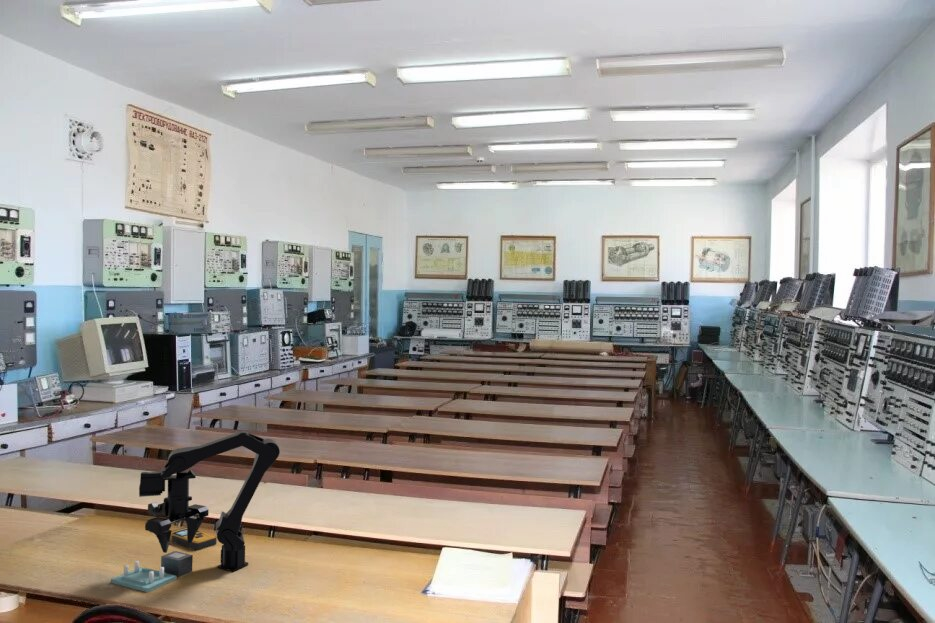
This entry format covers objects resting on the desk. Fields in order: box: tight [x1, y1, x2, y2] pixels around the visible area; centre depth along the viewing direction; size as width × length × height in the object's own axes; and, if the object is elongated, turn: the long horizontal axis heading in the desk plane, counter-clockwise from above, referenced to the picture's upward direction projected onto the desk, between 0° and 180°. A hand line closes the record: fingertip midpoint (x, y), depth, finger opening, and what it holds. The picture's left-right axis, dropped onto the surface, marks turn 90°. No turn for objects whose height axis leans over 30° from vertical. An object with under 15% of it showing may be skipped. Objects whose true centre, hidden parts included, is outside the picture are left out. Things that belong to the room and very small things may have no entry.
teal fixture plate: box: [110, 560, 177, 593], centre depth 203 cm, size 14×10×4 cm
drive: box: [160, 550, 194, 578], centre depth 210 cm, size 7×5×5 cm
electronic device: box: [170, 526, 218, 551], centre depth 236 cm, size 8×16×3 cm, turn 55°
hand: (177, 547), depth 210 cm, fingers open, 9 cm apart
